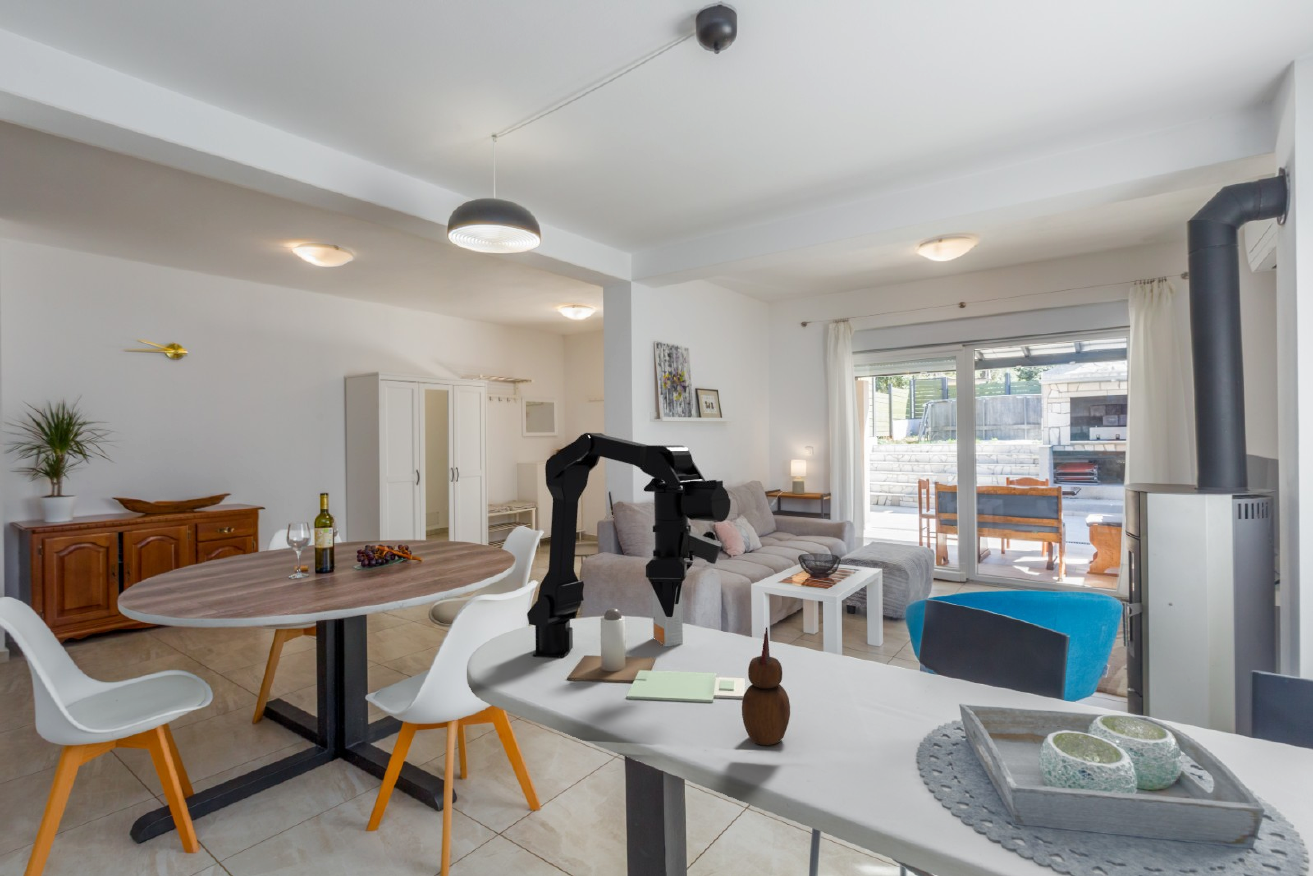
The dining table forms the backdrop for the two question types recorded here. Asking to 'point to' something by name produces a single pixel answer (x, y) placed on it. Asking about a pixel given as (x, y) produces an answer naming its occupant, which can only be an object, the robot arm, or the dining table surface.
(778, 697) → the wooden figurine
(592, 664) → the walnut mat
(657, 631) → the skincare box
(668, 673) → the green mat
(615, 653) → the bottle
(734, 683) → the card
